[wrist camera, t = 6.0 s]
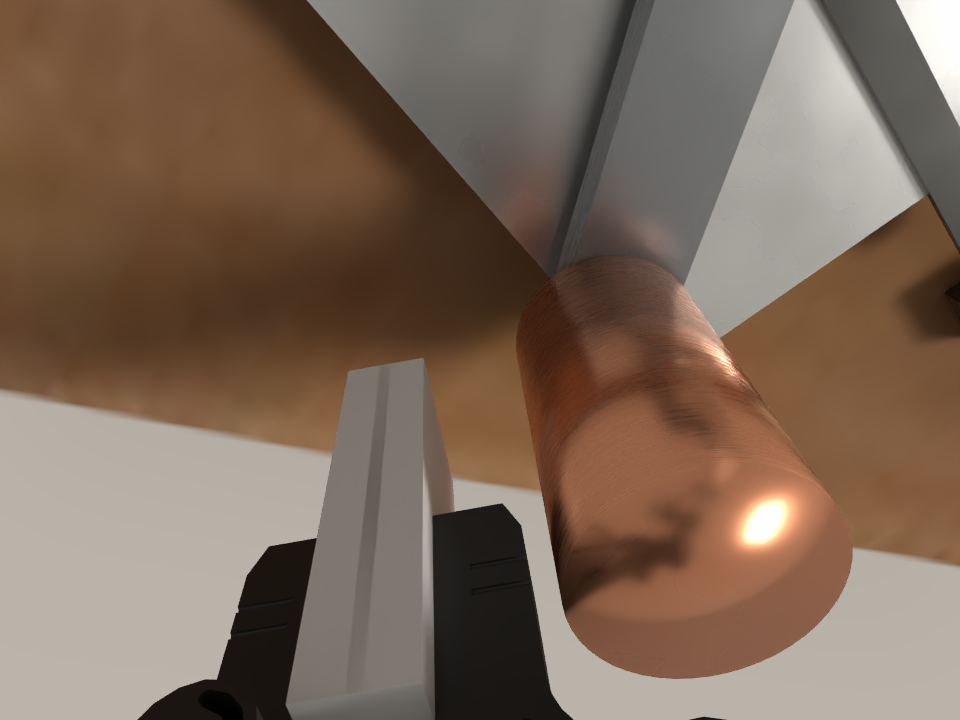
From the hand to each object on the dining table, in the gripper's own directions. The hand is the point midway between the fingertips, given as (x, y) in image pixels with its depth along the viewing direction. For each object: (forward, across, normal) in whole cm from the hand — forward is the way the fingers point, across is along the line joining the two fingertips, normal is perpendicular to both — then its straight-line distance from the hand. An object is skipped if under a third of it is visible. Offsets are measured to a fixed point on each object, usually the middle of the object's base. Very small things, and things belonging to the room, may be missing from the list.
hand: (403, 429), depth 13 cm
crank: (+3, +6, +4) cm, 8 cm away
